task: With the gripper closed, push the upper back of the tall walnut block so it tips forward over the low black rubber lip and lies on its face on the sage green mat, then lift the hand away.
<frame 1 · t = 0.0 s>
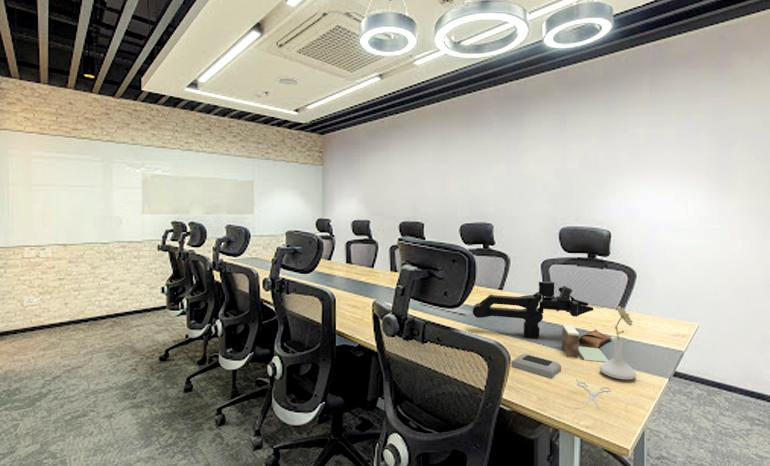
hand: (590, 306, 169), 17 cm above the table, tool horizontal, fingers open, 9 cm apart
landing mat: (590, 354, 155), on the table
sunglasses case: (595, 342, 169), on the table, touching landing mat
grey flat block: (535, 370, 139), on the table
flower in vase: (617, 375, 134), on the table
walnut block: (569, 352, 157), on the table
scissors: (592, 397, 119), on the table
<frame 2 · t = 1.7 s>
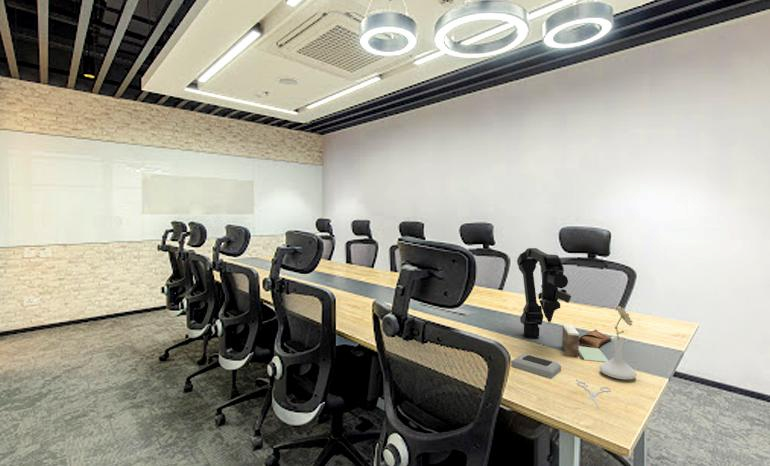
hand: (548, 319, 159), 13 cm above the table, tool pointing down, fingers open, 6 cm apart
nothing on the table moved.
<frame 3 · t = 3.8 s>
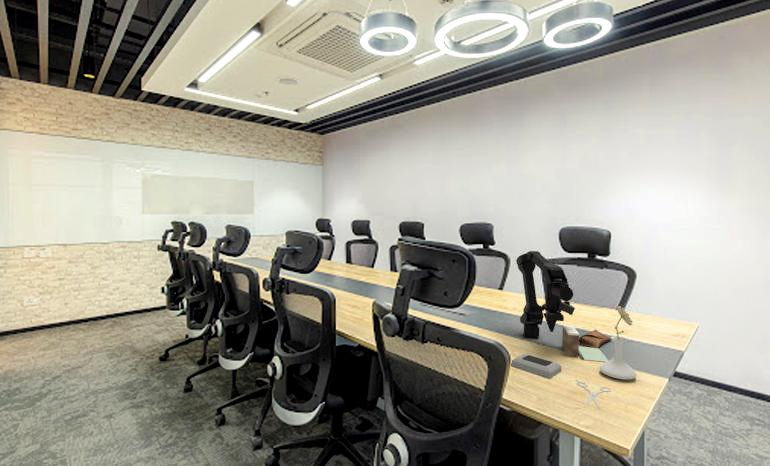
hand: (551, 331, 158), 8 cm above the table, tool pointing down, fingers closed
nothing on the table moved.
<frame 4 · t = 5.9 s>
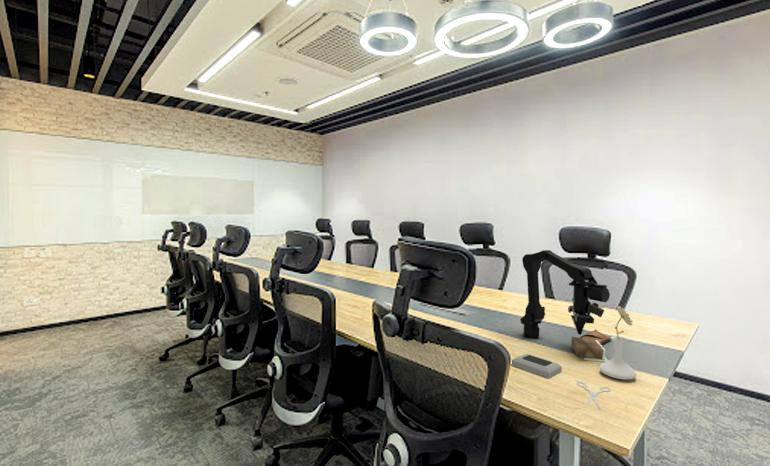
hand: (579, 334, 155), 8 cm above the table, tool pointing down, fingers closed
walnut block: (574, 345, 156), point 3 cm above the table, tilted 94°, touching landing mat
everything else where it was.
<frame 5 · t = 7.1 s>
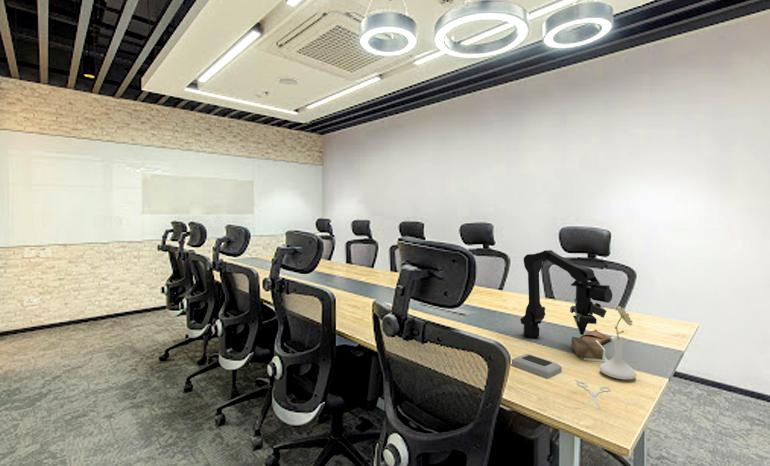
hand: (581, 334, 155), 8 cm above the table, tool pointing down, fingers closed
nothing on the table moved.
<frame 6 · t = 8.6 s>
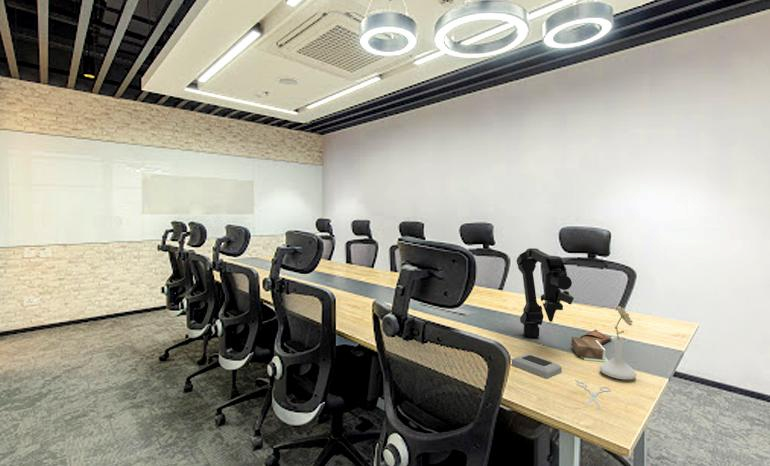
hand: (550, 321, 158), 12 cm above the table, tool pointing down, fingers closed
nothing on the table moved.
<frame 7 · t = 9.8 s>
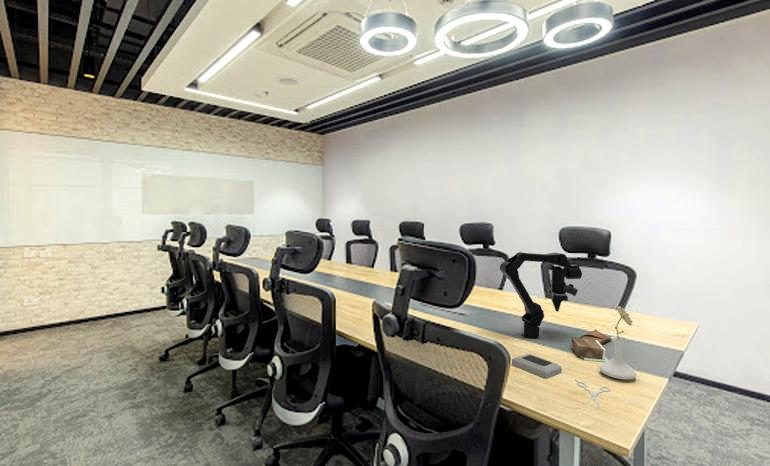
hand: (557, 311, 177), 12 cm above the table, tool pointing down, fingers closed
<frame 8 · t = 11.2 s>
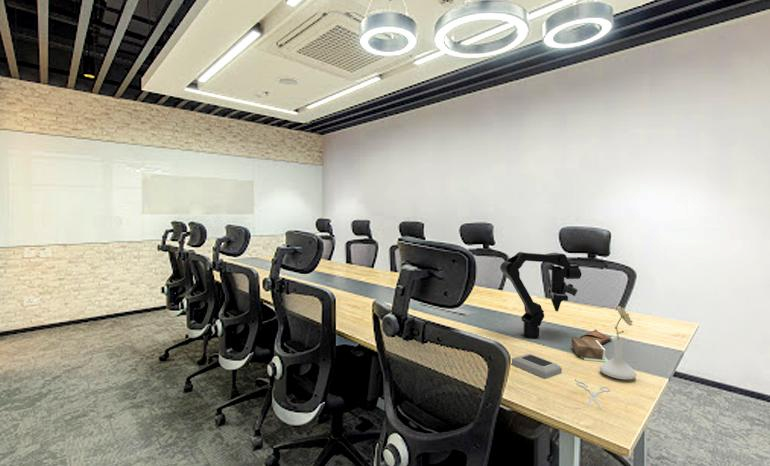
hand: (556, 311, 178), 12 cm above the table, tool pointing down, fingers closed
at the end: walnut block tilted 94°; walnut block inside the target area (2.3 cm from its centre), point 2.9 cm above the table; the gripper is holding nothing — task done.
